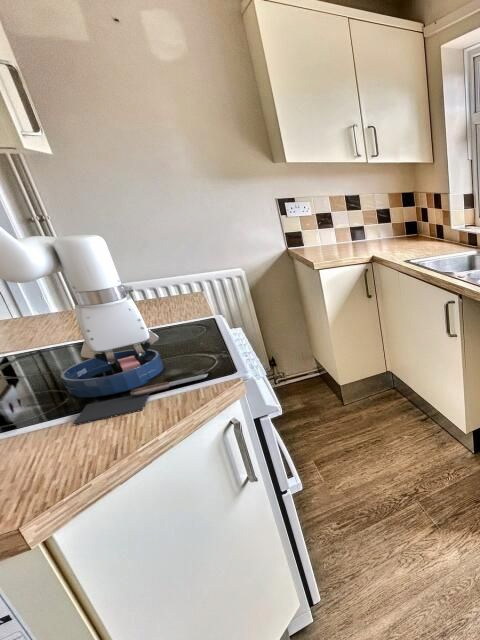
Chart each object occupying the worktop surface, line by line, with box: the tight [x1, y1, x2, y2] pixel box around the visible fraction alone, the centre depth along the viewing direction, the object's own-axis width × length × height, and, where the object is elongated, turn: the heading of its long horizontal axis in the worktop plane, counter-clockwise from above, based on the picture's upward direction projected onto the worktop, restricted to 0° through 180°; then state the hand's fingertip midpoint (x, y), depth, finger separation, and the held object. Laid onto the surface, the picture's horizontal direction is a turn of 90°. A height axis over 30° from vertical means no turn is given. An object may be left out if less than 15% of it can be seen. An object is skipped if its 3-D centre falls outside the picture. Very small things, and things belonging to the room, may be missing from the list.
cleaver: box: [129, 373, 209, 396], centre depth 91 cm, size 13×2×5 cm
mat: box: [72, 393, 151, 426], centre depth 83 cm, size 10×8×1 cm
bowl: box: [60, 348, 165, 398], centre depth 93 cm, size 16×16×4 cm
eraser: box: [118, 356, 140, 372], centre depth 94 cm, size 3×6×4 cm, turn 49°
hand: (132, 373), depth 95 cm, fingers closed on eraser, 3 cm apart
